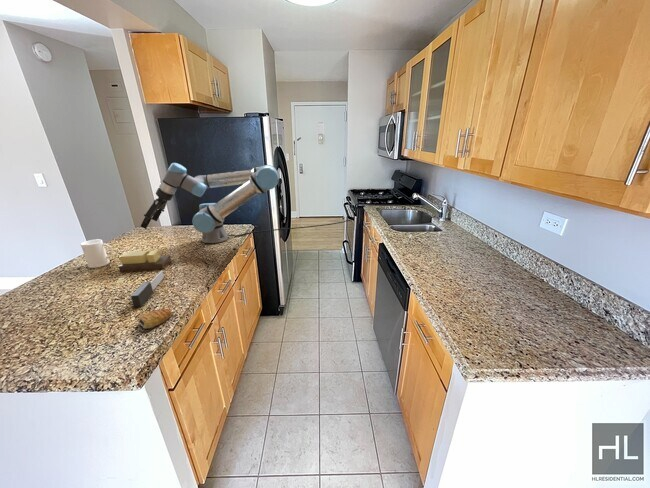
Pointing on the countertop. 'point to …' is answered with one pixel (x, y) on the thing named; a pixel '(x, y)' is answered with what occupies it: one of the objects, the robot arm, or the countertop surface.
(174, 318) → the countertop surface
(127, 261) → the butter
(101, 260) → the mug
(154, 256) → the butter slice
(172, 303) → the countertop surface
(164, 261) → the butter board
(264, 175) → the robot arm
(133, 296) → the butter knife
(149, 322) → the pastry
